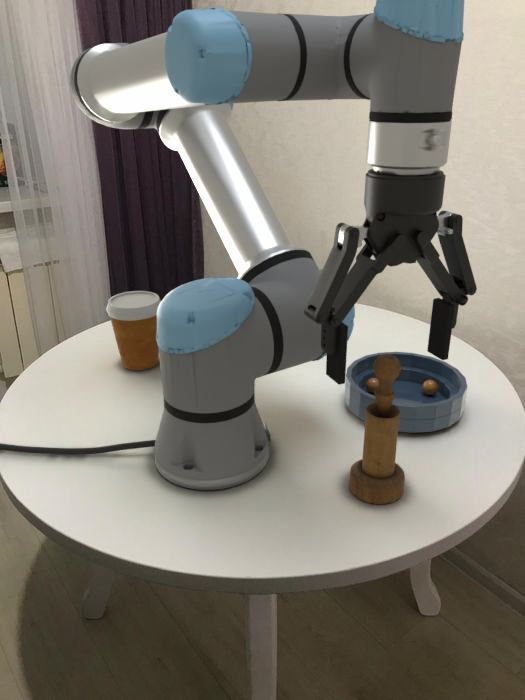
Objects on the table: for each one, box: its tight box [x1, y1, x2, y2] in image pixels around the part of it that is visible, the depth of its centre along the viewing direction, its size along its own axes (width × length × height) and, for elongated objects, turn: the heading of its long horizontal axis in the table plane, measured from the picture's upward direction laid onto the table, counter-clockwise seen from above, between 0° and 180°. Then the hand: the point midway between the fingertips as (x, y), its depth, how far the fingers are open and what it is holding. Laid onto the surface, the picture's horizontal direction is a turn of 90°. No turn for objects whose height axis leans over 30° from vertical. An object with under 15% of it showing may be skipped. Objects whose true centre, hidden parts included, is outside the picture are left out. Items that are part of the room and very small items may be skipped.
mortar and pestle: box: [348, 354, 406, 505], centre depth 69 cm, size 7×6×18 cm
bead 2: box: [422, 380, 438, 395], centre depth 92 cm, size 2×2×2 cm
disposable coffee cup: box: [105, 290, 162, 371], centre depth 102 cm, size 10×10×12 cm
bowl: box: [344, 351, 468, 434], centre depth 90 cm, size 18×18×5 cm
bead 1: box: [366, 378, 379, 393], centre depth 92 cm, size 2×2×2 cm
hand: (388, 366), depth 65 cm, fingers open, 13 cm apart
